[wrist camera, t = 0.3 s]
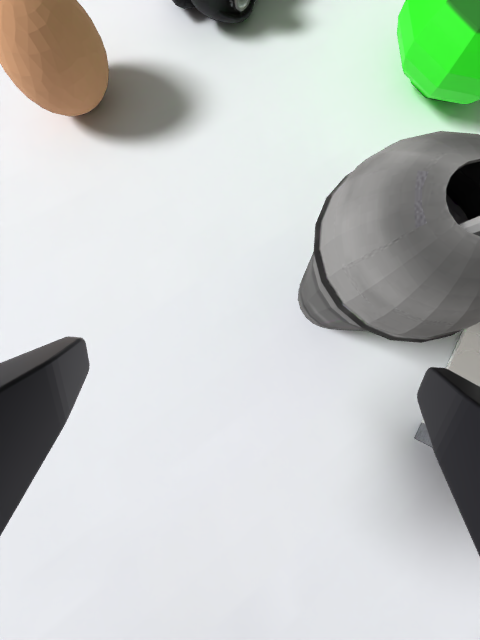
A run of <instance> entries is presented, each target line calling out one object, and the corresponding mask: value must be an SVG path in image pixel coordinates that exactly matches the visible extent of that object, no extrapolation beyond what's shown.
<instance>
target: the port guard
mask: <svg viewBox="0 0 480 640" xmlns="http://www.w3.org/2000/svg"><path fill="white" fill-rule="evenodd" d="M446 369H449V370H450V371H452V372H454V373H456V374H458V375H460V376H461V377H463V378H465V379H467V380H469V381H470V382H472V383H474V384H476V385H478V386H480V322H479V323H477V324H475V325H473V326H471V327H469V328H467V329H463V331H462V333H461V336H460V338H459V340H458V342H457V345H456V347H455V349H454V351H453V353H452V356H451V358H450V360H449V362H448V365H447V367H446ZM415 439H417V440H419V441H421V442H423V443H425V444H427V445H429V446H431V447H432V444H431V441H430V438H429V435H428V432H427V429H426V425H425V422H424V419H423V420H422V422H421V425H420V427H419V429H418V431H417V434H416V436H415ZM432 448H433V447H432Z"/></svg>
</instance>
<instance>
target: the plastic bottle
mask: <svg viewBox="0 0 480 640" xmlns="http://www.w3.org/2000/svg"><path fill="white" fill-rule="evenodd" d="M397 36H398V42H399V49H400V55H401V61H402V67H403V71H404V74H405V75H406V76H407V77H408V78H409V79H410V80H411V83H412V84H413V85H414V86H415V87H416V88H417V89H418V90H419V91H420V92H421V93H422V94H423V95H424V96H425V97H426V98H431V99H436V100H441V101H446V102H448V101H449V102H454V103H459V104H470V103H473V102H475V101H477V100H480V0H406V1H405V3H404V5H403V7H402V9H401V12H400V14H399V16H398V28H397Z"/></svg>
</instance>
